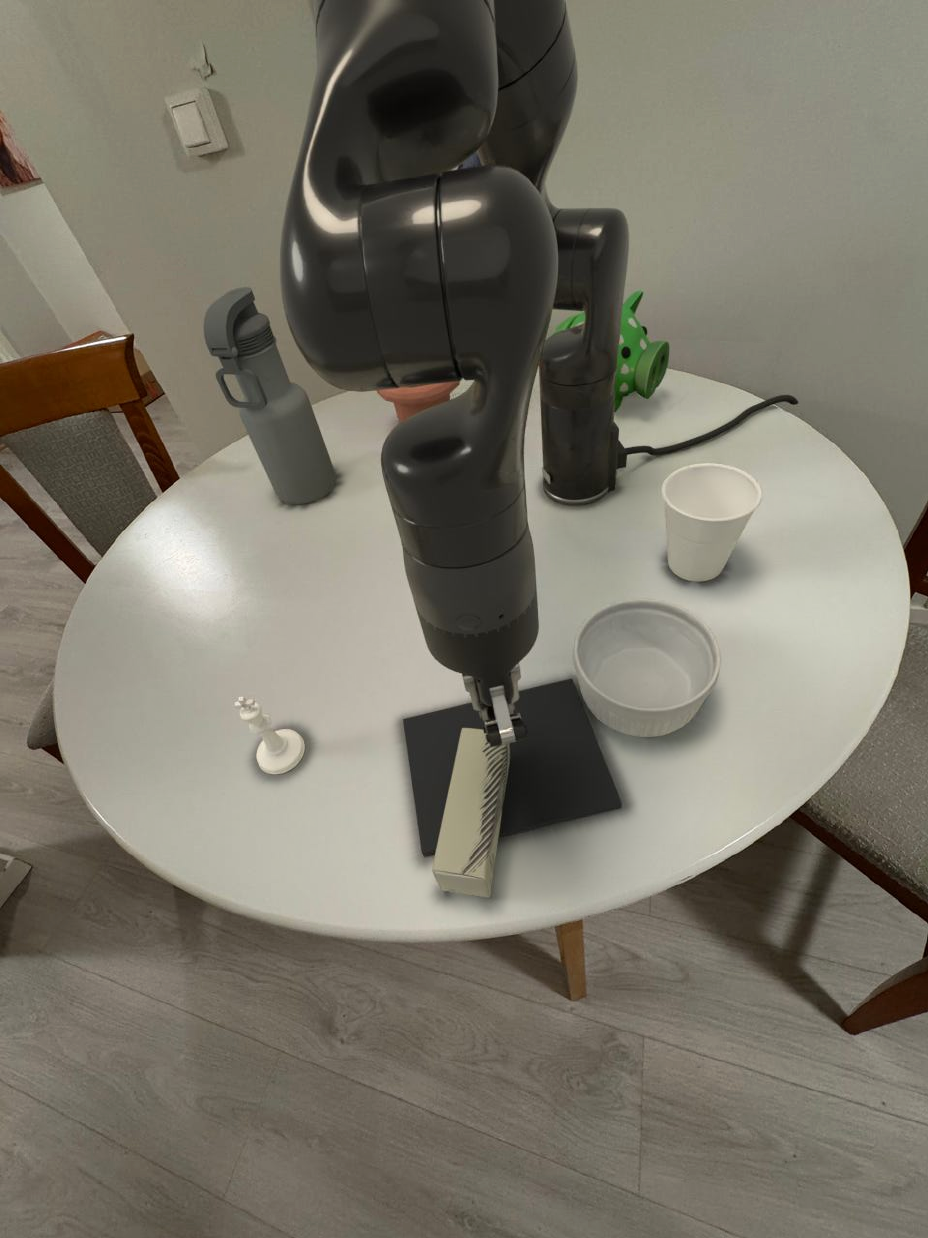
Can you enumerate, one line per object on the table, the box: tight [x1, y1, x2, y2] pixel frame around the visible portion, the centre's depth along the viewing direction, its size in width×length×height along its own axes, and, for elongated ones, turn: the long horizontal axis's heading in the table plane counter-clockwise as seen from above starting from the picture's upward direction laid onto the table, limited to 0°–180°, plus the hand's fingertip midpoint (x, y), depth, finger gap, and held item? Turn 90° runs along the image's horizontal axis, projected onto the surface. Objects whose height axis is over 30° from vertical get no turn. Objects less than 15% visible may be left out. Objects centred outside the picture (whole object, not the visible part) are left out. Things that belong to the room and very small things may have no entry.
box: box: [431, 728, 510, 898], centre depth 50 cm, size 5×4×13 cm
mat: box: [402, 678, 623, 857], centre depth 56 cm, size 18×14×1 cm
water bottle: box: [203, 286, 337, 505], centre depth 81 cm, size 10×10×28 cm
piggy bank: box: [550, 290, 670, 414], centre depth 91 cm, size 14×18×15 cm
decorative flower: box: [376, 381, 461, 424], centre depth 88 cm, size 15×14×30 cm
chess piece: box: [234, 696, 306, 775], centre depth 56 cm, size 5×5×10 cm
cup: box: [661, 462, 763, 583], centre depth 65 cm, size 10×10×11 cm
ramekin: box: [572, 598, 722, 738], centre depth 56 cm, size 13×13×7 cm
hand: (499, 731), depth 48 cm, fingers closed
